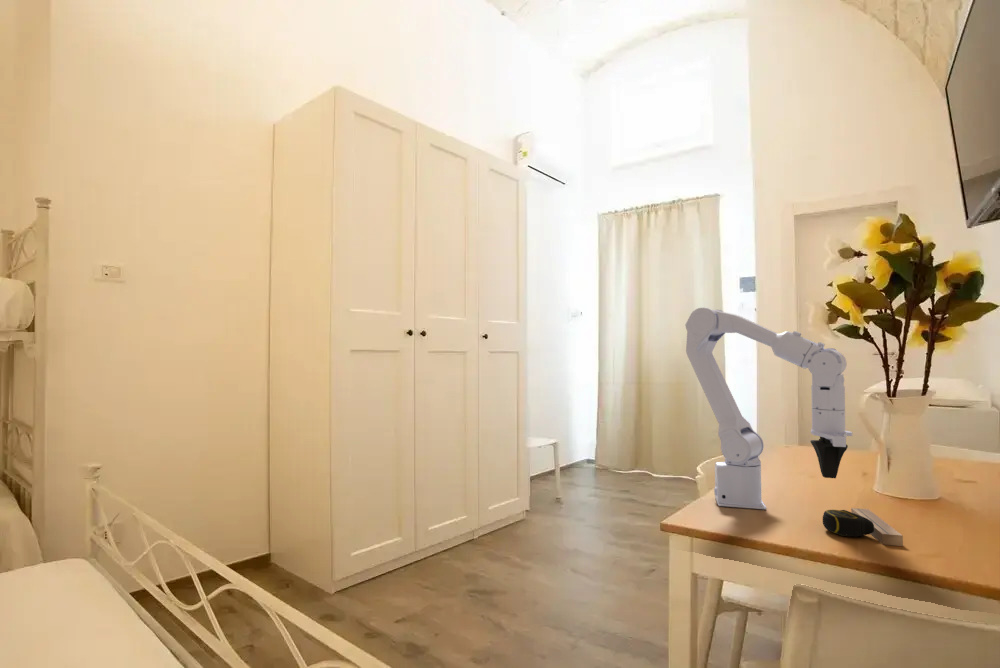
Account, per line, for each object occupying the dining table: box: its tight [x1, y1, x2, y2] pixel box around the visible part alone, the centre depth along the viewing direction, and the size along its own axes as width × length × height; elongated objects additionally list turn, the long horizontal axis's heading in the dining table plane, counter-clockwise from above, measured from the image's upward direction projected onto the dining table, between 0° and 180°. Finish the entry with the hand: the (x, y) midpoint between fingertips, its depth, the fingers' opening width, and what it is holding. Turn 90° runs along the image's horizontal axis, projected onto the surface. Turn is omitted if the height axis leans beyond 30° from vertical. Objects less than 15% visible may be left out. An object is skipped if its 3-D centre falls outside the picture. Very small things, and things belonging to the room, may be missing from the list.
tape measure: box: [822, 509, 874, 538], centre depth 98 cm, size 7×7×4 cm
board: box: [850, 507, 904, 547], centre depth 100 cm, size 3×16×2 cm, turn 163°
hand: (829, 477), depth 107 cm, fingers closed
